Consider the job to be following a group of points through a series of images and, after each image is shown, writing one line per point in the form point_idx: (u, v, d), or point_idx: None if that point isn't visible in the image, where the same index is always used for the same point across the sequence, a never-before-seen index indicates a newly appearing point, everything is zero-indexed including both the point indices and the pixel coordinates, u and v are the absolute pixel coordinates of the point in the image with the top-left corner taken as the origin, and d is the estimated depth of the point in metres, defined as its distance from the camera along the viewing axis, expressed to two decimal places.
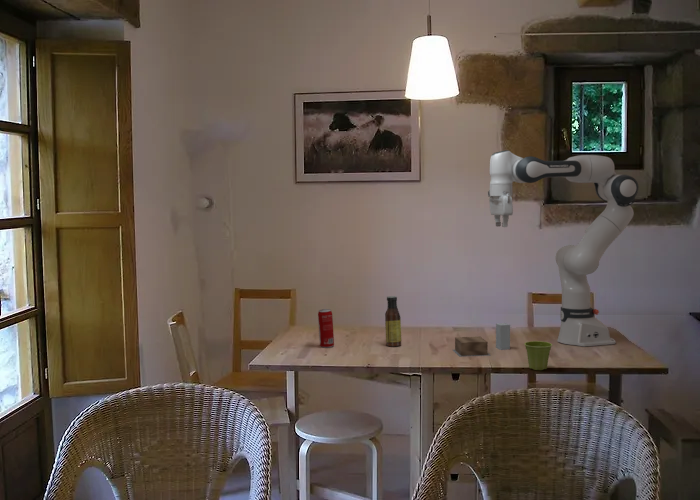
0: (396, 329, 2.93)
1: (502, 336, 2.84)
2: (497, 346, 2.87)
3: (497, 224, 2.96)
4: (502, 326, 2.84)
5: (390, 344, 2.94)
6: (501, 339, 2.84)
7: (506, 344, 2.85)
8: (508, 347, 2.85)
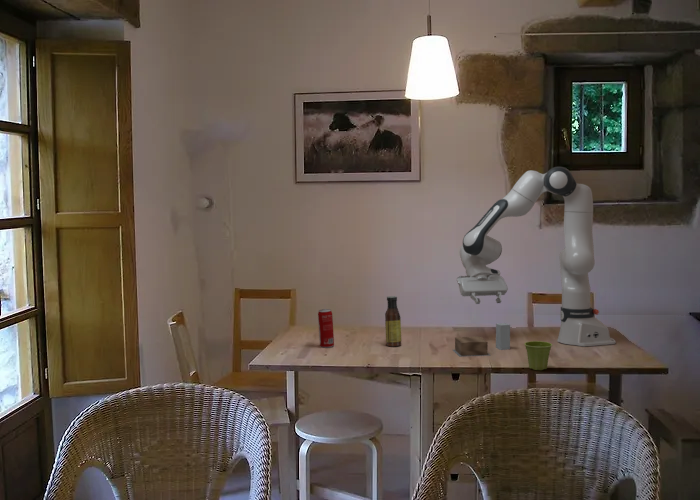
0: (396, 329, 2.93)
1: (502, 336, 2.84)
2: (497, 346, 2.87)
3: (496, 301, 2.98)
4: (502, 326, 2.84)
5: (390, 344, 2.94)
6: (501, 339, 2.84)
7: (506, 344, 2.85)
8: (508, 347, 2.85)
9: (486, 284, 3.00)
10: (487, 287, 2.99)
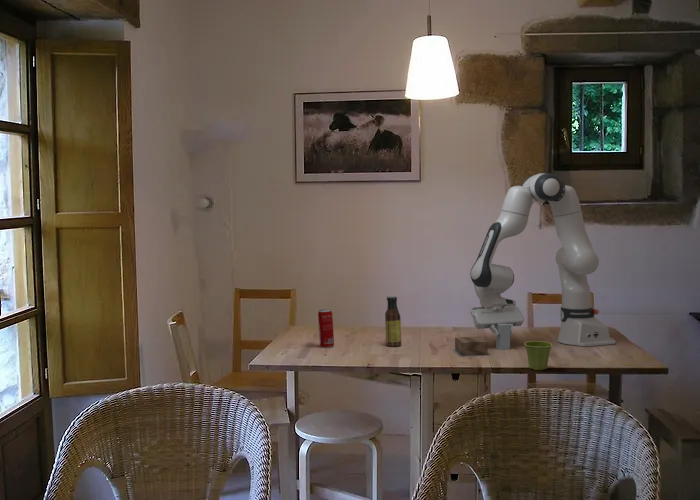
0: (396, 329, 2.93)
1: (502, 336, 2.84)
2: (497, 346, 2.87)
3: None
4: (502, 326, 2.84)
5: (390, 344, 2.94)
6: (501, 339, 2.84)
7: (506, 344, 2.85)
8: (508, 347, 2.85)
9: (502, 315, 2.89)
10: (502, 319, 2.88)
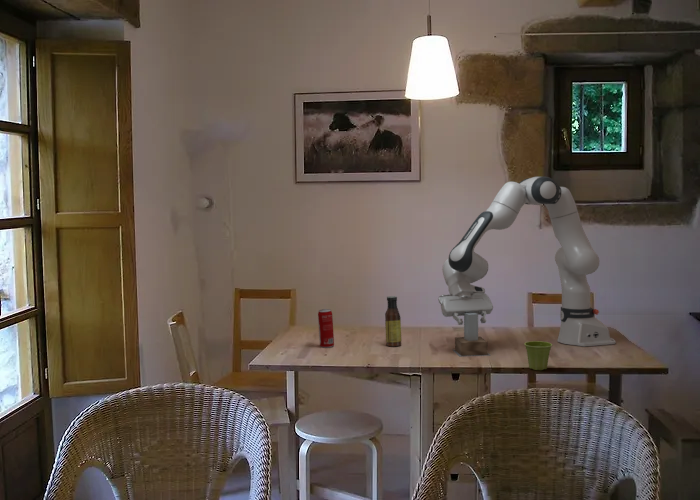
0: (396, 329, 2.93)
1: (470, 325, 2.77)
2: (465, 336, 2.80)
3: (481, 321, 2.80)
4: (470, 315, 2.77)
5: (390, 344, 2.94)
6: (469, 328, 2.77)
7: (475, 334, 2.78)
8: (476, 337, 2.78)
9: (470, 303, 2.82)
10: (470, 306, 2.81)
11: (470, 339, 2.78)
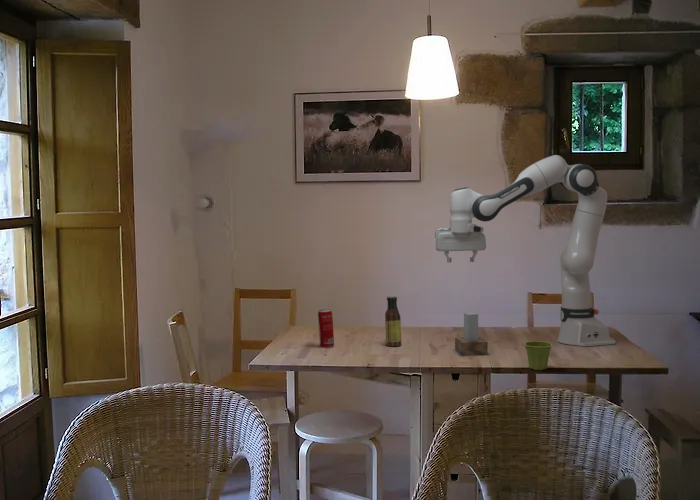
0: (396, 329, 2.93)
1: (470, 325, 2.77)
2: (465, 336, 2.80)
3: (470, 259, 2.98)
4: (470, 315, 2.77)
5: (390, 344, 2.94)
6: (469, 328, 2.77)
7: (475, 334, 2.78)
8: (476, 337, 2.78)
9: (464, 242, 2.95)
10: (463, 246, 2.95)
11: (470, 339, 2.78)
